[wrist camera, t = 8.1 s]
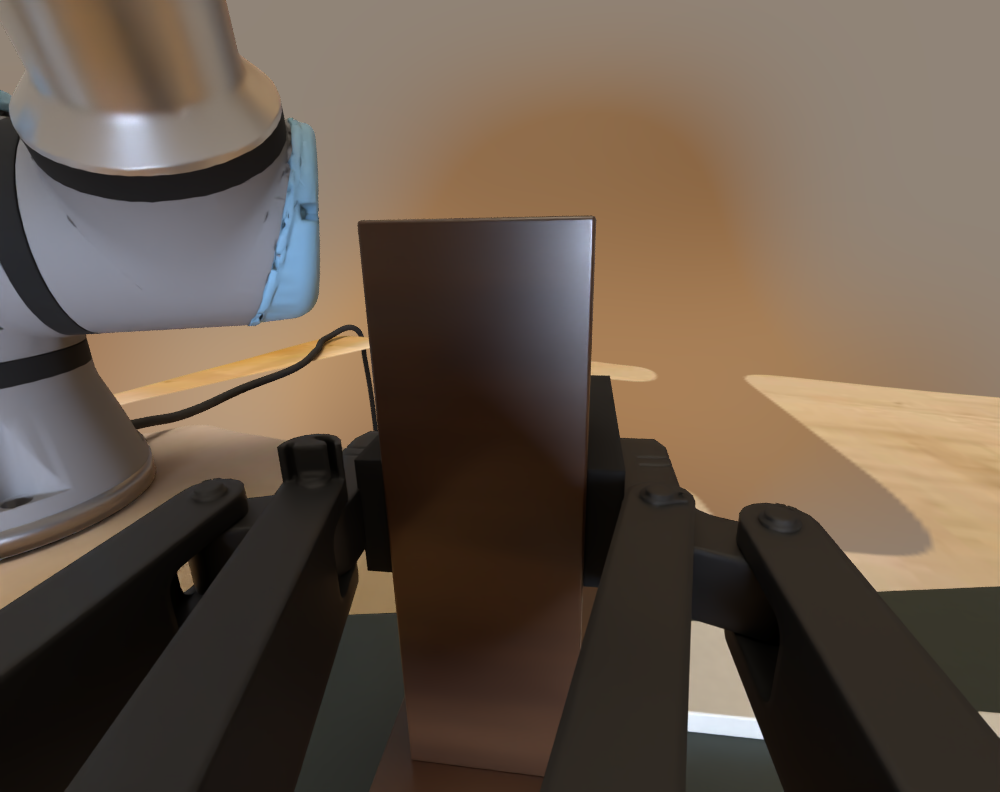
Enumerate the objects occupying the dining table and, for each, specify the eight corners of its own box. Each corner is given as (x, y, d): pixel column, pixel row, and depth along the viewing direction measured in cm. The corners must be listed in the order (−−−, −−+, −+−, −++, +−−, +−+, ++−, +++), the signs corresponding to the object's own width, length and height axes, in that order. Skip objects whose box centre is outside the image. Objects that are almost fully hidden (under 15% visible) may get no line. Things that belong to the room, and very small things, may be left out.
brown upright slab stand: (454, 621, 21) (430, 219, 16) (596, 634, 20) (615, 215, 15) (305, 1096, 10) (80, 225, 5) (615, 1167, 9) (712, 212, 4)
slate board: (322, 644, 22) (317, 615, 21) (1123, 609, 23) (1135, 579, 22) (75, 1300, 9) (48, 1261, 8) (2032, 1162, 9) (2113, 1118, 9)
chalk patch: (632, 632, 20) (633, 615, 20) (744, 641, 20) (746, 624, 19) (644, 727, 16) (646, 708, 16) (783, 742, 16) (787, 722, 16)
